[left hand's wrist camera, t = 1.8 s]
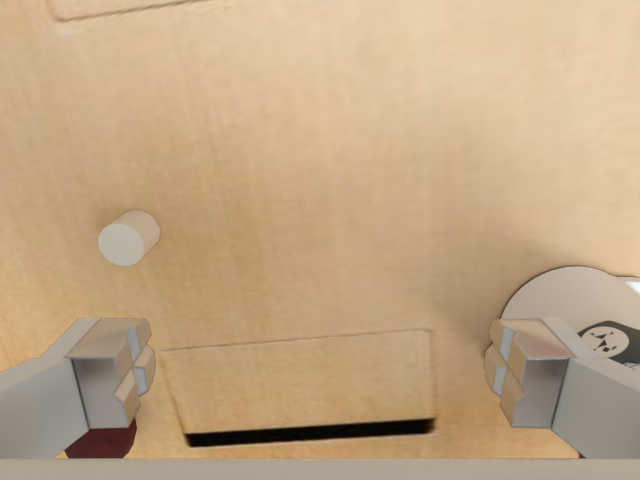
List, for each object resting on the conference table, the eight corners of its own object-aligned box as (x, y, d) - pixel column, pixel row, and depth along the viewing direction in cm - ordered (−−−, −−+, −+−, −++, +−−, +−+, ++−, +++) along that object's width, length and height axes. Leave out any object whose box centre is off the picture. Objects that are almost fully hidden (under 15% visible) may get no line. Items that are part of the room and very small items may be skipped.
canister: (168, 227, 45) (152, 243, 41) (146, 256, 47) (129, 274, 42) (132, 201, 44) (112, 214, 40) (110, 232, 46) (89, 248, 41)
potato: (72, 408, 54) (38, 454, 47) (117, 379, 52) (88, 423, 46) (114, 445, 56) (86, 494, 49) (158, 419, 54) (136, 466, 48)
